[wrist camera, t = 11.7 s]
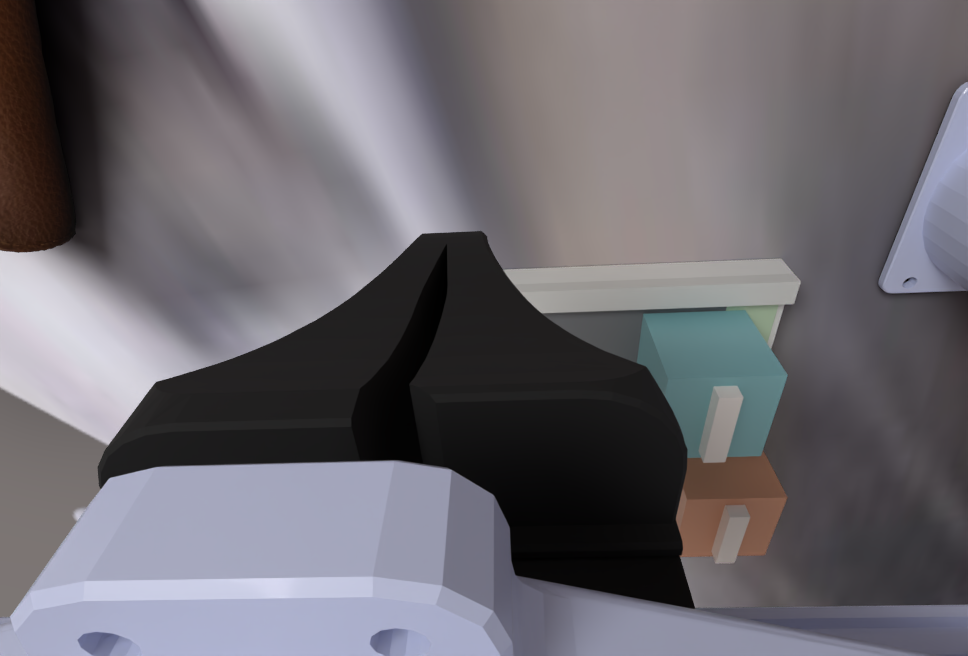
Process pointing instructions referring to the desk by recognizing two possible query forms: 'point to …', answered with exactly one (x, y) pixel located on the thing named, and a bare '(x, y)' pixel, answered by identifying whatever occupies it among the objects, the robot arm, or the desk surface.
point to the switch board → (654, 296)
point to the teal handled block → (714, 379)
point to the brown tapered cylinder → (29, 141)
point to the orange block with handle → (729, 507)
